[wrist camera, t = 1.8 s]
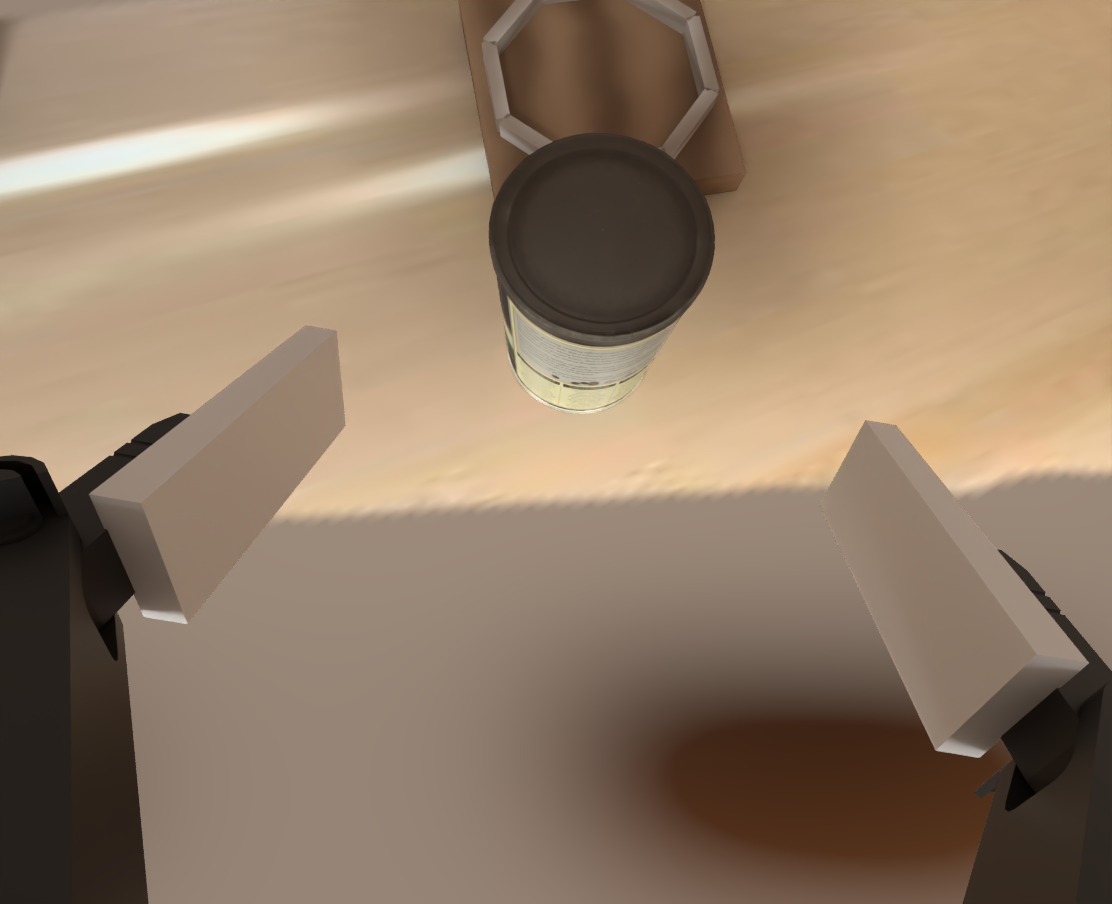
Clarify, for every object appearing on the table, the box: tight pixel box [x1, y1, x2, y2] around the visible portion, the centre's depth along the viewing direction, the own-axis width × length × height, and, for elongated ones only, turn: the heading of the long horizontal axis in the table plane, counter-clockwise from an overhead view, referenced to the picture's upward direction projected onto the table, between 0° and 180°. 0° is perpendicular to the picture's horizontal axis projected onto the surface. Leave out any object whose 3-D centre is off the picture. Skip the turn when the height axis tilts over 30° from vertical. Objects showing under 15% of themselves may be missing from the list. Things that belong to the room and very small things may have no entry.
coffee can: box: [489, 133, 715, 414], centre depth 32 cm, size 10×10×14 cm
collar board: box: [459, 0, 746, 201], centre depth 40 cm, size 18×18×3 cm
